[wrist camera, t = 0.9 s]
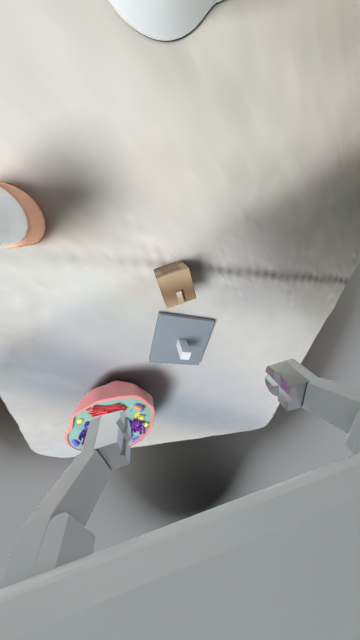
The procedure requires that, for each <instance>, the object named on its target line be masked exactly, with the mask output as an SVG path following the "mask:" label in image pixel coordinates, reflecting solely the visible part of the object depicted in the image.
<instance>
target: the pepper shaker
mask: <svg viewBox="0 0 360 640" xmlns="http://www.w3.org/2000/svg"><path fill="white" fill-rule="evenodd" d="M45 229H46V227H45V219H44V216H43V214H42V211H41V209H40V208H39V206H38V205H37V203H36V202H35V201H34V200H33V199H32V198H31V197H30V196H29V195H28V194H27V193H26V192H24V191H22V190H21V189H19V188H17V187H15V186H13V185H10V184H6V183H3V182H0V247H5V248H16V247H23V246H29V245H33V244H35V243H37V242H39V241H40V240H41V239H42V237H43V236H44V233H45Z"/></svg>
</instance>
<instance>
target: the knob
mask: <svg viewBox="0 0 360 640" xmlns="http://www.w3.org/2000/svg"><path fill="white" fill-rule="evenodd" d="M154 272H155V276H156V279H157V282H158V285H159V288H160V290H161V293H162V296H163V299H164V301H165V304H166V307H167V308H169V307H172V306H175V305H178V304H182V303H185V302H187V301H190V300H192V299H195V298H196V294H195V290H194V286H193V282H192V278H191V274H190V270H189V267H188V266H186V265H185V264H184V263H183V262H182V261H178V262H175V263H172V264H169V265H166V266H163V267H160V268H157V269H154Z"/></svg>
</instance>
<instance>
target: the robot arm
mask: <svg viewBox="0 0 360 640" xmlns="http://www.w3.org/2000/svg"><path fill="white" fill-rule="evenodd" d="M108 1H109V2H110V4H111V5H112V6H113V8H114V9H115V10H116V11H117V12H118V14H119V15H120V16H121V17H122V18H123V19H124V20H125V21H126V22H127V23H128V24H129V25H130V26H132V27H133V28H134V29H135V30H137V31H138V32H140V33H141V34H143V35H145V36H147V37H150V38H153V39H156V40H163V41H168V40H175V39H178V38H181V37H183V36H185V35H186V34H188V33H189V32H191V31H192V30H193V29H194V28H195V27H196V26H197V25H198V24H199V23H200V22H201V21H202V19H203V18H204V17H205V15H206V14H207V12H208V11H209V10H210V9H211V7H212V6H213V5H214V4H216V3H217V2H220V1H222V0H108ZM266 372H267V373H268V374H267V376H266V377H265V382H266V385H267V387H268V389H269V391H270V392H271V393H272V394H273V395H276V396H278V401H279V402H280V404H281V405H282V406H283V407H284V408H285V409H286V410H287V411H290V410H293V409H297V408H299V407H302V408H303V409H305V410H307V411H309V412H311V413H312V414H314V415H316V416H318V417H319V418H321V419H323V420H325V421H327V422H328V423H330V424H332V425H334V426H336V427H337V428H339V429H341V430H343V431H344V432H346V433H348V435H347V437H346V439H345V445H346V446H347V447H348V448H349V449H350V450H351V451H352V452H353V453H354V454H355V455H352V456H349V457H347V458H344V459H342V460H339V461H336V462H334V463H331V464H328V465H326V466H323V467H320V468H318V469H315V470H312V471H310V472H307V473H305V474H302V475H299V476H297V477H294V478H291V479H289V480H286V481H283V482H281V483H278V484H276V485H273V486H270V487H268V488H265V489H263V490H260V491H257V492H254V493H252V494H249V495H247V496H244V497H241V498H239V499H236V500H233V501H231V502H228V503H225V504H223V505H220V506H218V507H215V508H212V509H210V510H207V511H204V512H202V513H199V514H196V515H194V516H191V517H189V518H186V519H183V520H181V521H178V522H175V523H173V524H170V525H167V526H165V527H162V528H160V529H157V530H154V531H152V532H149V533H146V534H144V535H141V536H138V537H136V538H133V539H131V540H128V541H126V542H123V543H120V544H118V545H115V546H112V547H109V548H107V549H104V550H102V551H99V552H96V553H94V554H93V550H94V544H95V535H94V534H93V533H92V532H91V531H90V530H88V529H87V528H86V527H85V525H86V523H87V521H88V519H89V517H90V515H91V513H92V511H93V509H94V507H95V505H96V503H97V501H98V499H99V497H100V495H101V493H102V490H103V489H104V487H105V484H106V482H107V480H108V479H109V476H110V474H111V472H112V470H114V469H116V468H119V467H122V466H124V465H127V464H130V450H131V448H130V446H129V444H128V443H129V441H130V440H131V426H130V422H129V420H128V419H127V418H125V412H124V410H120V411H116V412H112V413H109V414H105V415H101V416H98V417H94V418H92V419H91V421H90V424H89V427H88V430H87V434H86V437H85V441H84V444H83V448H82V451H81V454H80V455H77V456H76V458H75V459H74V461H73V462H72V463H71V464H70V466H69V467H68V468H67V469H66V471H65V472H64V473H63V475H62V476H61V477H60V478H59V480H58V481H57V482H56V484H55V485H54V486H53V488H52V489H51V490H50V491H49V493H48V494H47V495H46V497H45V498H44V499H43V501H42V502H41V503H40V504H39V506H38V507H37V509H36V510H35V511H34V513H33V514H32V515H31V516H30V517H29V519H28V520H27V521H26V523H25V524H24V526H23V528H22V530H21V533H20V535H19V537H18V540H17V542H16V545H15V547H14V549H13V552H12V554H11V557H10V559H9V561H8V564H7V566H6V569H5V571H4V573H3V576H2V578H1V580H0V640H360V390H357V389H354V388H350V387H348V386H345V385H342V384H339V383H336V382H333V381H330V380H327V379H323V378H320V379H319V378H318V377H316V376H315V375H314V374H313V373H311V372H310V371H309V370H307V369H306V368H305V367H303V366H302V365H301V364H300V363H298V362H297V361H296V360H294V359H290V360H287V361H283V362H279V363H276V364H273V365H270V366H267V368H266Z"/></svg>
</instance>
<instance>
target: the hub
mask: <svg viewBox="0 0 360 640" xmlns="http://www.w3.org/2000/svg"><path fill="white" fill-rule="evenodd" d="M214 323H215V322H214V320H213V319H206V318H199V317H192V316H185V315H178V314H171V313H164V312H159V313H158V318H157V323H156V328H155V332H154V337H153V342H152V347H151V351H150V356H149V362H154V363H171V364H189V365H199V363H200V360H201V358H202V355H203V352H204V350H205V347H206V344H207V342H208V339H209V336H210V334H211V331H212V328H213V326H214Z"/></svg>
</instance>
